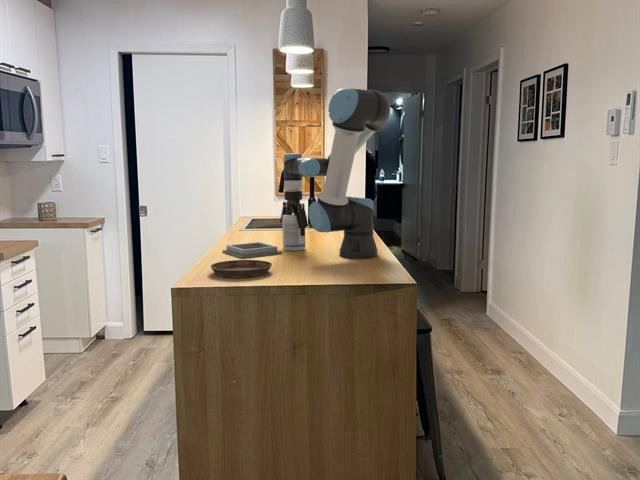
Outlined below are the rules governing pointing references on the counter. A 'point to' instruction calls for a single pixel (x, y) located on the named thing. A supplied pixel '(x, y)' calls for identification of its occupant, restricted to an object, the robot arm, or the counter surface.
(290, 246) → the supplement tub
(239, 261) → the plant saucer
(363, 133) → the robot arm
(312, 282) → the counter surface
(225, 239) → the counter surface
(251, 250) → the board
